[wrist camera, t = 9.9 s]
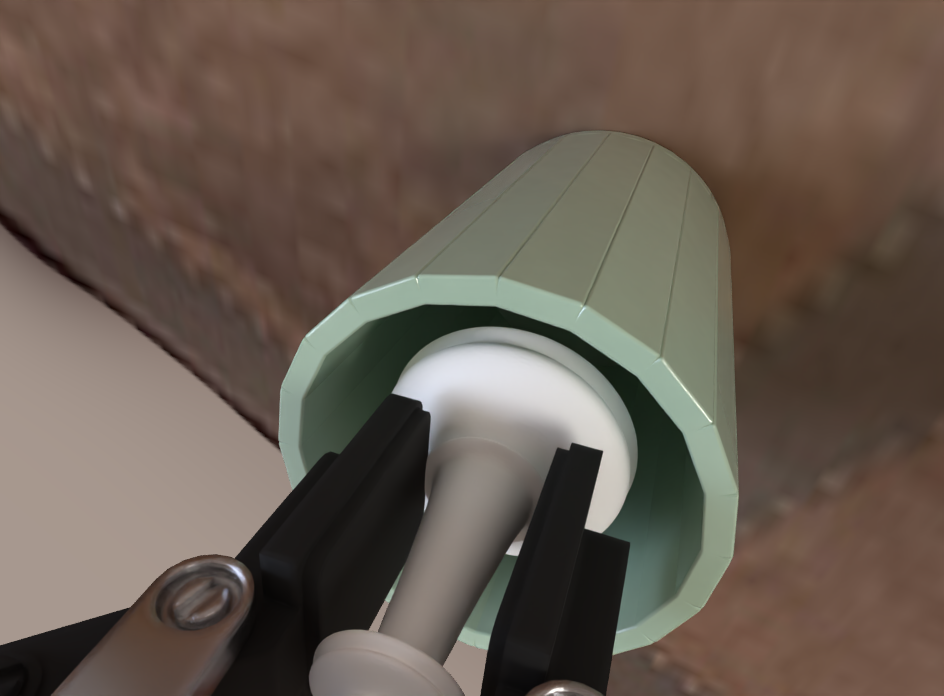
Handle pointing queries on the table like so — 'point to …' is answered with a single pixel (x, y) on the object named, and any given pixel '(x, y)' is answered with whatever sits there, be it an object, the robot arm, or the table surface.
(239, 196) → the table surface
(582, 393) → the chess piece
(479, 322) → the tube
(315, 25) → the table surface
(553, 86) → the table surface
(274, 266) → the table surface
